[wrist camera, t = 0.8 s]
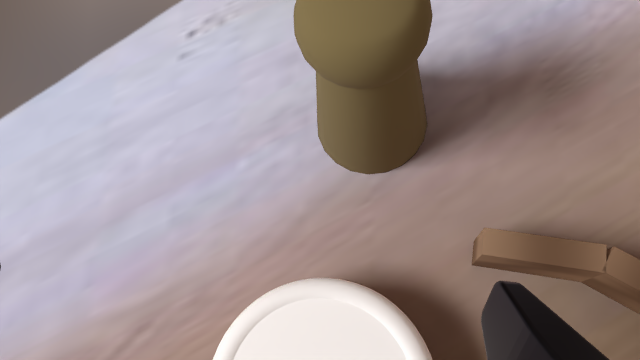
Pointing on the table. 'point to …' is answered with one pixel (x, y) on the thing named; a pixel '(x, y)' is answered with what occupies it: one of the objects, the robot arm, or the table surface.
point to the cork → (366, 77)
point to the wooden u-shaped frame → (562, 262)
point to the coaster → (322, 325)
